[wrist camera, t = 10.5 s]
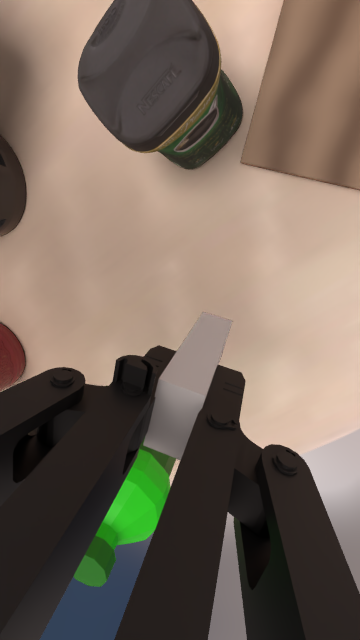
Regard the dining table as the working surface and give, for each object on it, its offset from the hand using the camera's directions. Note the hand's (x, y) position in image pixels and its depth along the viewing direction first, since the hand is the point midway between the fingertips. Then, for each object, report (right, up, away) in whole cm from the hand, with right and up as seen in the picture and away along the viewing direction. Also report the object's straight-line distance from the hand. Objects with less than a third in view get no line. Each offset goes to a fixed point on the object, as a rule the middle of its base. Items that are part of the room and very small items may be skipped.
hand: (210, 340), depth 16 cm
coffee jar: (+1, +24, +21) cm, 31 cm away
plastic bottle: (-3, -13, +35) cm, 38 cm away
